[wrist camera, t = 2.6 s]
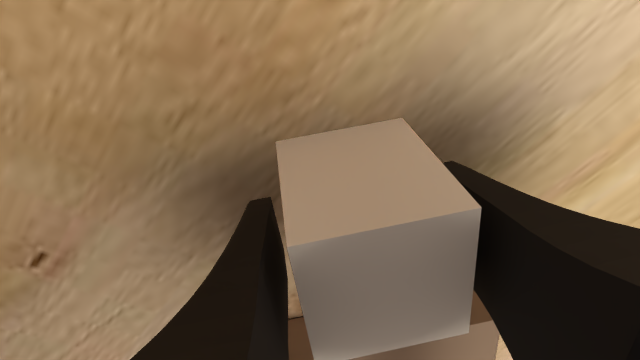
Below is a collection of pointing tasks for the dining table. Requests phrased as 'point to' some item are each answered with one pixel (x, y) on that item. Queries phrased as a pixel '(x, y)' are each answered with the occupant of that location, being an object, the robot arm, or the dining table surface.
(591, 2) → the dining table surface
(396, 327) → the off-white block
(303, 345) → the walnut plinth
